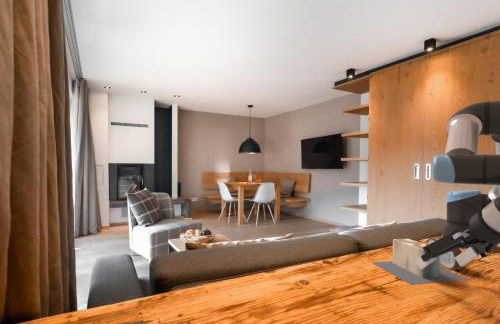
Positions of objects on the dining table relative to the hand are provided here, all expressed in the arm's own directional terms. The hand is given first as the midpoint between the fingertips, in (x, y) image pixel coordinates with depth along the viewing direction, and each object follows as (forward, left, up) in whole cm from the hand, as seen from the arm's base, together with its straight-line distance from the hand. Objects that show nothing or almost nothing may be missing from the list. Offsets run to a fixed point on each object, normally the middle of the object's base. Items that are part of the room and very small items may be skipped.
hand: (438, 263), depth 78 cm
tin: (-14, -11, -6) cm, 19 cm away
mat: (0, -8, -5) cm, 10 cm away
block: (0, -15, -1) cm, 15 cm away
